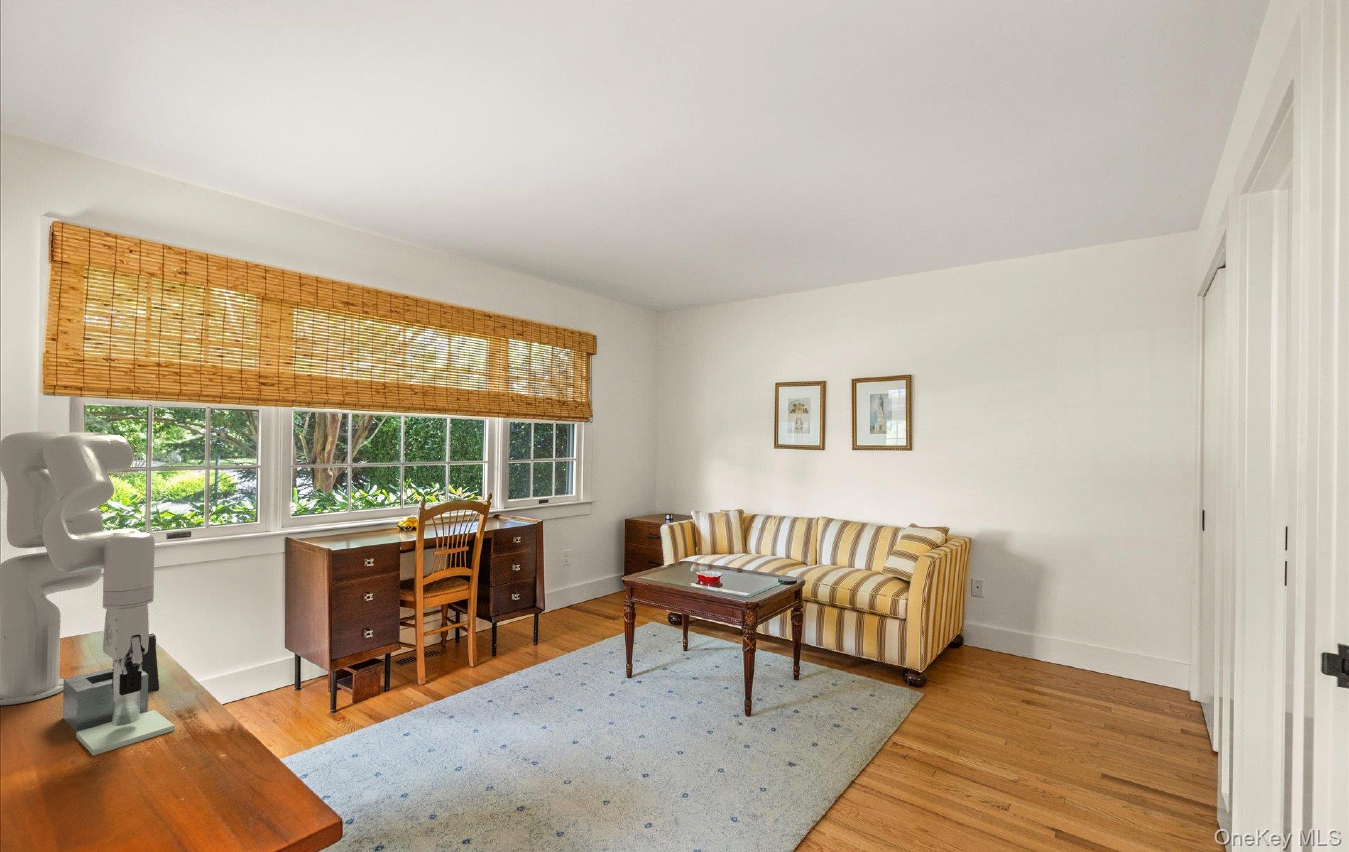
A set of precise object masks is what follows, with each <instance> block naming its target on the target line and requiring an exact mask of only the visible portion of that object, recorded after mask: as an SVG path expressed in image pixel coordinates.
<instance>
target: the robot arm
mask: <svg viewBox="0 0 1349 852" xmlns="http://www.w3.org/2000/svg"><path fill="white" fill-rule="evenodd" d="M133 463H134V450H133V447H132V445H131V444H130V442H129V441H128V440H127V439H126V438H124V437H123V436H121V435H116V434H110V433H103V432H91V431H86V432H85V431H25V432H17V433H16V432H15V433H11V434H9V435H6V436H5V437H3V438H2V439H1V441H0V471H1V473H2V476H3V478H4V482H5V484H6V490H7V499H6V502H7V505H6V509H7V510H6V538H7V541H8V543H9V545H10V546H12V548H15V549H16V548H17V549H35V548H36V549H37V548H45V549H46V551H43V552H37V553H36V552H35V553H28V554H22V555H18V556H14V557H11V558H8V559H6V560H4V561H3V562H1V563H0V706H8V705H9V706H10V705H17V704H24V703H29V702H32V701H38V700H40V699H44V698H47V697H51V696H53V695H56V694H59V693H61V692H63V688H64V679H65V678H61V677H60V659H61V658H60V655H61V654H60V653H61V652H60V651H61V612H60V609H59V607H58V606H57V605H56V604H54V602H52V601H51V600H50V599H48V598H47V596H48V595H50V594H55V593H60V592H65V591H67V592H68V591H71V590H73V591H74V590H77V589H83V588H87V587H91V586H93V585H95V584H96V583H98V581H99V579H101V575H102V571H103V579H102V581H103V582H102V585H103V586H102V609H105V610H106V611H105V617H104V618H105V619H104V628H103V629H104V630H103V643H102V651H103V653H104V654H105V655H107V657H109V658H111V659H112V668H114V661H119V660H120V659H121V660H122V674H120V680H119V694H120V695H126V694H130V693H134V692H137V691H140V690H141V680H142V655H144V654H146V653H147V651H148V643H149V634H150V633H149V629H150V627H149V626H150V625H149V623H150V621H149V606H148V604H150V603H151V604H152V602H154V599H155V598H154V593H155V592H154V591H155V590H154V588H155V585H154V584H155V546H156V545H155V543H156V542H155V540H156V538H155V537H154V535H153V534H151V533H147V532H141V531H140V530H138V529H136V528H118V529H110V530H107V529H106V530H104V519H103V516H102V515H103V514H102V513H101V510H100V509H99V508H98V507H101V506H102V505H104V504H106V503H107V502H108V501H109V500H110V499H111V498H112V497H113V495H114V494H115V486H114V484H113V483H112V479H111V477H110V475H109V474H108V473H120V472H125V471H127V470H128V469H130V468H131V466H132V464H133ZM102 569H103V570H102ZM127 654H128V656H127ZM127 660H131V661H130V662H128V664H127ZM113 673H114V669H113V671H112V689H113Z"/></svg>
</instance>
